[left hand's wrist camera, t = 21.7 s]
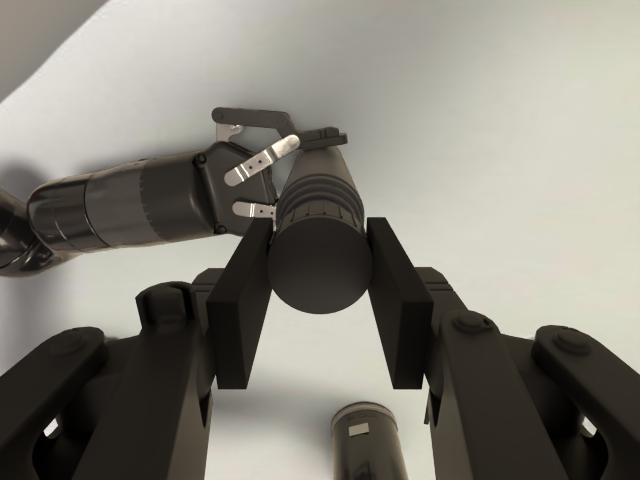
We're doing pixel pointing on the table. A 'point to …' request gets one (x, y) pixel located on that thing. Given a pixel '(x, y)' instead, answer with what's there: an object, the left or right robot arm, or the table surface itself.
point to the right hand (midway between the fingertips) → (349, 170)
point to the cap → (319, 259)
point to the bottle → (320, 184)
